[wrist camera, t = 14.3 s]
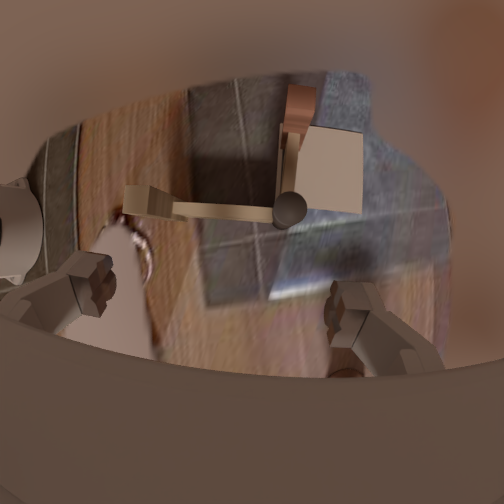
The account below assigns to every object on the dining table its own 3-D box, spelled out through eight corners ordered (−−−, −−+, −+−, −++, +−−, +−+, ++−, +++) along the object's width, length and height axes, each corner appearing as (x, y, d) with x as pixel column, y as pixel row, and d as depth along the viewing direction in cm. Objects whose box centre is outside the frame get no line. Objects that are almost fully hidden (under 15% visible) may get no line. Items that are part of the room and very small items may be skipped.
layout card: (274, 205, 34) (274, 204, 34) (280, 123, 34) (280, 122, 33) (361, 213, 34) (361, 213, 33) (362, 134, 33) (362, 133, 33)
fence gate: (293, 206, 33) (308, 189, 21) (273, 204, 34) (277, 185, 22) (301, 134, 33) (316, 87, 21) (282, 131, 33) (288, 83, 21)
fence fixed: (169, 221, 35) (122, 214, 22) (171, 201, 35) (125, 184, 22) (291, 230, 34) (306, 226, 22) (293, 209, 34) (308, 192, 21)
